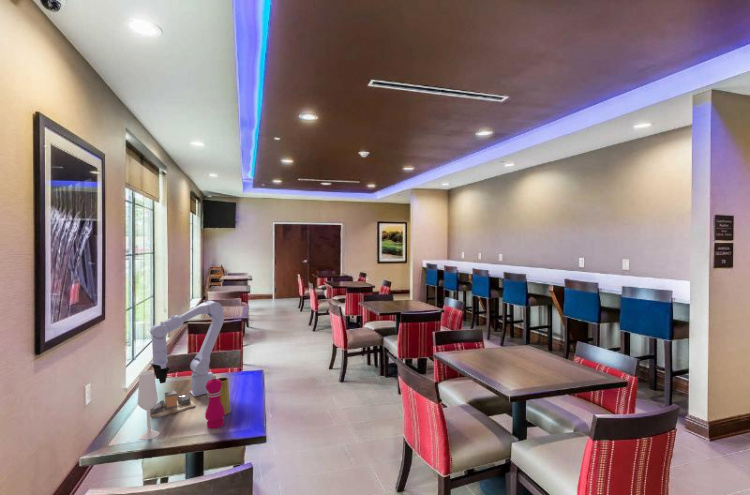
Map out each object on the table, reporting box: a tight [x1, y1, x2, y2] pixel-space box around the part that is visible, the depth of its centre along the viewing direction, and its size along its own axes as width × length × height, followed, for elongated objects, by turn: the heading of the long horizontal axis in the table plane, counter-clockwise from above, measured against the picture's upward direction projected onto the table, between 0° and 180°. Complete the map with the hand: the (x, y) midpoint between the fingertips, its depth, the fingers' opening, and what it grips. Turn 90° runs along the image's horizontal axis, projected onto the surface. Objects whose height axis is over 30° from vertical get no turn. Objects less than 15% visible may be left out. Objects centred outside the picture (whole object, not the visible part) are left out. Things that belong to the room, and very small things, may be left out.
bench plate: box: [150, 400, 196, 419], centre depth 181 cm, size 17×11×1 cm, turn 127°
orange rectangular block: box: [164, 390, 178, 409], centre depth 181 cm, size 4×4×6 cm
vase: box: [217, 377, 231, 416], centre depth 175 cm, size 6×6×14 cm
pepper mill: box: [204, 374, 226, 430], centre depth 163 cm, size 7×7×20 cm
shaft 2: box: [177, 393, 192, 405], centre depth 184 cm, size 5×4×5 cm
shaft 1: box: [150, 400, 165, 414], centre depth 176 cm, size 5×4×5 cm
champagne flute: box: [137, 370, 160, 441], centre depth 156 cm, size 7×7×24 cm
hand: (161, 380), depth 188 cm, fingers open, 7 cm apart
